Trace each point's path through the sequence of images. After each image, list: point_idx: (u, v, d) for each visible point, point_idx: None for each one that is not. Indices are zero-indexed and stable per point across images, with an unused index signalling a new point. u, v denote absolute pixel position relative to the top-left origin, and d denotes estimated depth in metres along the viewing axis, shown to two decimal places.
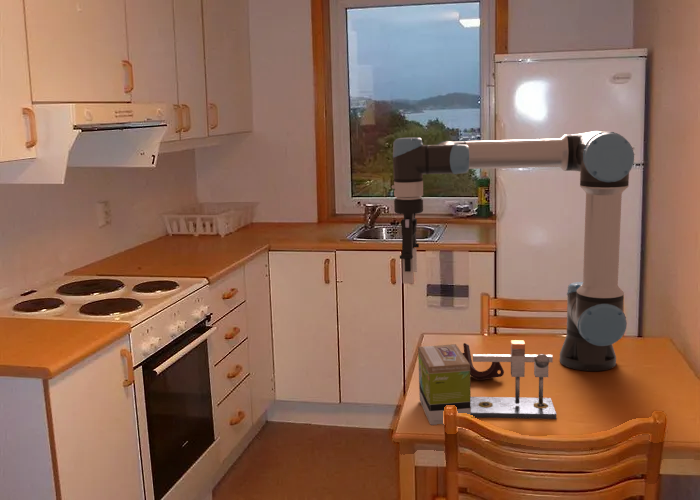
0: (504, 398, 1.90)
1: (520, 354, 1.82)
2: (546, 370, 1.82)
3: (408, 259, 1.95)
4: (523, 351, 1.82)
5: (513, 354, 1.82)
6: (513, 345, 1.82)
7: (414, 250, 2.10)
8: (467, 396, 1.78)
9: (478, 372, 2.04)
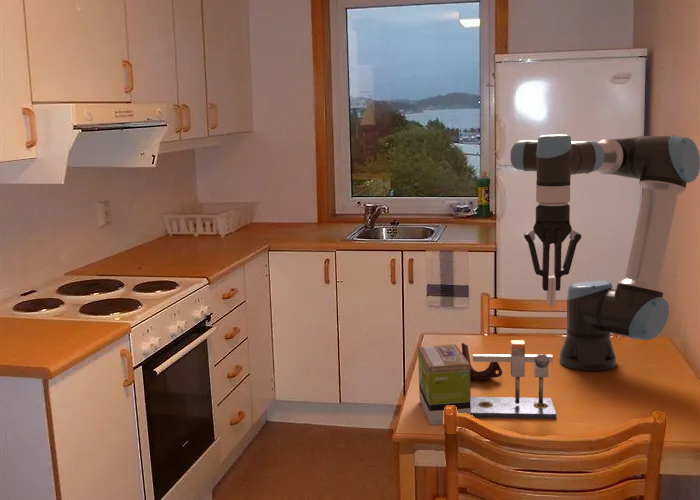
0: (504, 398, 1.90)
1: (520, 354, 1.82)
2: (546, 370, 1.82)
3: (542, 276, 1.79)
4: (523, 351, 1.82)
5: (513, 354, 1.82)
6: (513, 345, 1.82)
7: None
8: (467, 396, 1.78)
9: (476, 372, 2.04)
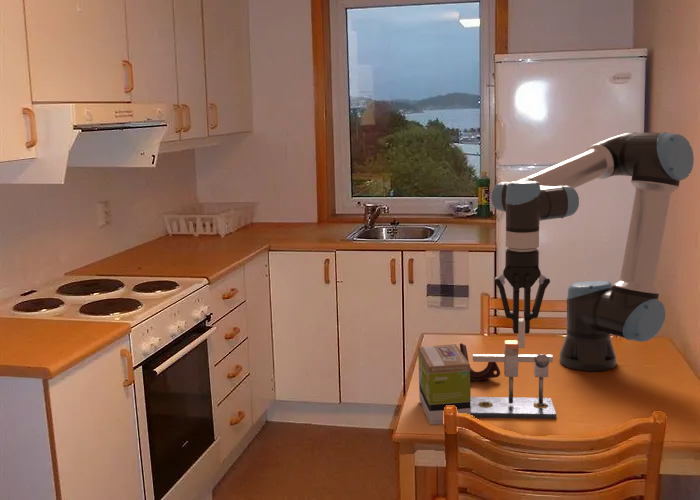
0: (504, 398, 1.90)
1: (513, 354, 1.82)
2: (546, 370, 1.82)
3: (512, 319, 1.82)
4: (516, 351, 1.82)
5: (506, 354, 1.82)
6: (506, 345, 1.82)
7: None
8: (467, 396, 1.78)
9: (474, 372, 2.04)
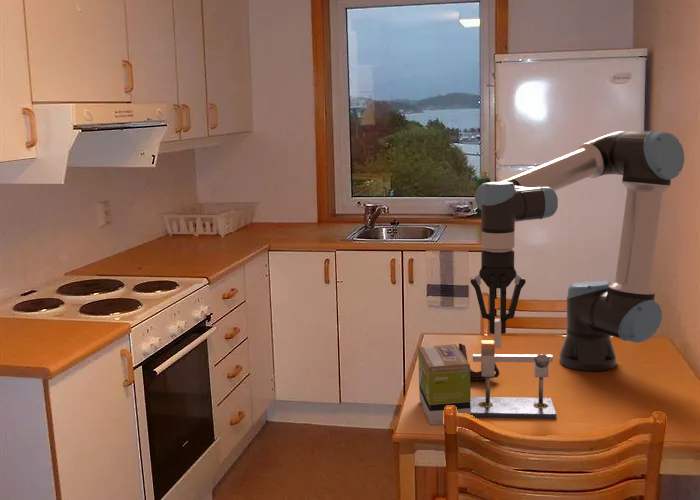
0: (504, 398, 1.90)
1: (490, 354, 1.83)
2: (546, 370, 1.82)
3: None
4: (493, 351, 1.83)
5: (483, 354, 1.83)
6: (483, 345, 1.83)
7: None
8: (467, 396, 1.78)
9: (473, 372, 2.04)
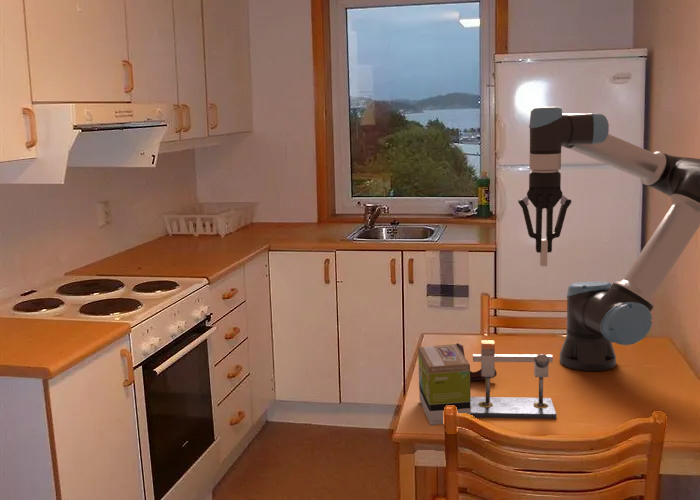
0: (504, 398, 1.90)
1: (490, 354, 1.83)
2: (546, 370, 1.82)
3: None
4: (493, 351, 1.83)
5: (483, 354, 1.83)
6: (483, 345, 1.83)
7: None
8: (467, 396, 1.78)
9: (470, 373, 2.03)
